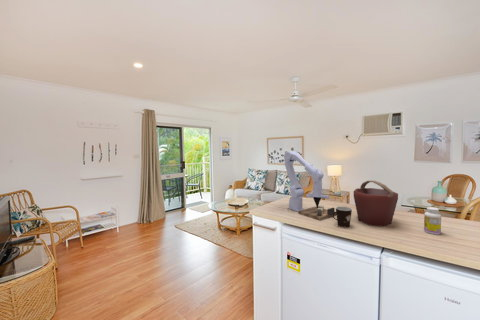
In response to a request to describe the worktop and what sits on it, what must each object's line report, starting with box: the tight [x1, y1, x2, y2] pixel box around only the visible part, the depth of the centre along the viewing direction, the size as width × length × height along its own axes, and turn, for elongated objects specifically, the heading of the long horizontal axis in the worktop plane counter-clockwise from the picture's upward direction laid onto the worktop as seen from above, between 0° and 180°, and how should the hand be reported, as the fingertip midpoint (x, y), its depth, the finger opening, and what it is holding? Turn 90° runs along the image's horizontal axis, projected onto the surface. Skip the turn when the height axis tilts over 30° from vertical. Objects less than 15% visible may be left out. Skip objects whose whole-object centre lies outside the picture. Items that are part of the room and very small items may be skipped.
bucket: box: [353, 180, 399, 227], centre depth 130 cm, size 24×22×25 cm
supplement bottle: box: [423, 206, 442, 235], centre depth 112 cm, size 7×7×13 cm
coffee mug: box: [332, 206, 353, 228], centre depth 126 cm, size 12×9×10 cm
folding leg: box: [318, 204, 325, 215], centre depth 145 cm, size 12×3×3 cm, turn 153°
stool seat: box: [297, 206, 337, 222], centre depth 147 cm, size 18×18×6 cm
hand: (317, 208), depth 146 cm, fingers closed
